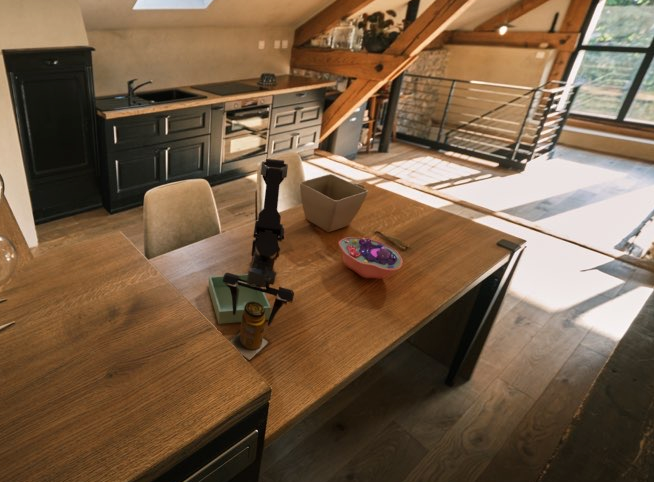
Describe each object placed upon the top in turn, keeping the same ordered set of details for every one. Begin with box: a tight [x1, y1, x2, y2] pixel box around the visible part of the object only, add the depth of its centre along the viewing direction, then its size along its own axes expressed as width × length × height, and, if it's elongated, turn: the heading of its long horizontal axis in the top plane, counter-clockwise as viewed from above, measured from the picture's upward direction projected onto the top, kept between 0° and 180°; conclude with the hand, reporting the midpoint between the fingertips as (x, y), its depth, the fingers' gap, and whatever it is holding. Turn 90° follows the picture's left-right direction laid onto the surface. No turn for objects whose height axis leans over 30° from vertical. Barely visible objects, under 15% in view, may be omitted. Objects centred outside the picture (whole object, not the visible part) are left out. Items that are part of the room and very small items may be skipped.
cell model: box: [338, 236, 404, 280], centre depth 130 cm, size 17×20×11 cm
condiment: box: [229, 302, 269, 361], centre depth 101 cm, size 7×8×12 cm
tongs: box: [374, 230, 410, 251], centre depth 148 cm, size 4×13×2 cm, turn 35°
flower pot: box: [299, 173, 369, 233], centre depth 158 cm, size 19×19×17 cm
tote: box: [207, 273, 272, 325], centre depth 117 cm, size 15×15×5 cm
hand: (250, 320), depth 101 cm, fingers open, 9 cm apart
